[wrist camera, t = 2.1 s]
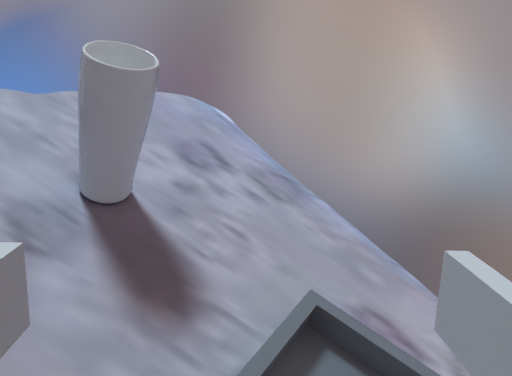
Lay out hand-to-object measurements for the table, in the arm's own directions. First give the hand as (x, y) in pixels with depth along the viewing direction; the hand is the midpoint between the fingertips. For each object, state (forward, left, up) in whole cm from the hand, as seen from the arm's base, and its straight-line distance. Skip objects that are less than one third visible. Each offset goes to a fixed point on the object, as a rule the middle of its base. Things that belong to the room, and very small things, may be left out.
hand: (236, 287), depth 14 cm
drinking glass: (-25, +20, -20) cm, 37 cm away
